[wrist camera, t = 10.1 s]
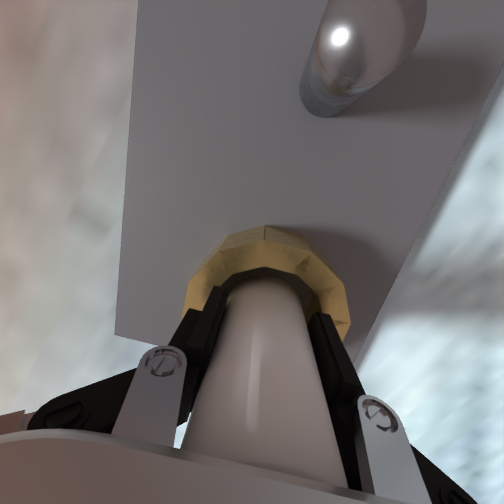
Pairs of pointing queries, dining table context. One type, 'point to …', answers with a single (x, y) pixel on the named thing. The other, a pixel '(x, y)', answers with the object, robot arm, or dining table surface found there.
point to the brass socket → (277, 257)
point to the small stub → (358, 50)
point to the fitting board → (286, 149)
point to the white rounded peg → (265, 389)
